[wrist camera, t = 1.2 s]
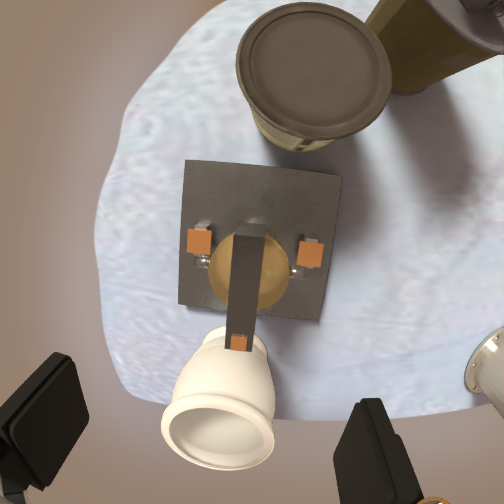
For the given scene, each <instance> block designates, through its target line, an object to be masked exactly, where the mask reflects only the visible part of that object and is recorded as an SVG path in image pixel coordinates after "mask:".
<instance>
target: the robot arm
mask: <svg viewBox="0 0 504 504" xmlns="http://www.w3.org/2000/svg"><path fill="white" fill-rule="evenodd" d="M465 382H466V385H467V387H468V388H469V389H470V390H471V391H472V392H474V393H483V392H484V394H485V395H486V396H487V397H488V399H489V400H490V401H491V403H492V404H493V405H494V407H495V408H496V409H497V411H498V412H499V413H500V415H501V416H502V418H503V419H504V327H502V328H500V329H498V330H496V331H494V332H493V333H491V334H490V335H489V336H488V337H487V338H486V339H484V341H483V342H482V343H481V344H480V345H479V346H478V348H477V349H476V350H475V352H474V354H473V355H472V357H471V359H470V361H469V363H468V366H467V368H466V373H465ZM88 422H89V413H88V410H87V406H86V403H85V400H84V397H83V393H82V389H81V385H80V382H79V378H78V374H77V370H76V366H75V363H74V362H73V361H72V359H71V357H69V356H67V355H64V354H61V353H58V352H54V353H53V354H52V355H51V356H50V357H49V358H48V359H47V360H46V361H45V362H44V363H43V364H42V365H41V366H40V367H39V368H38V369H37V370H36V371H35V372H34V373H33V374H32V375H31V376H30V377H29V378H28V379H27V380H26V381H25V382H24V383H23V384H22V385H21V386H20V387H19V388H18V389H17V390H16V391H15V392H14V393H13V394H12V395H11V396H10V398H9V399H8V400H7V401H6V402H5V403H4V404H3V405H2V406H1V407H0V504H31V503H30V499H29V495H28V490H27V488H28V486H29V485H32V486H33V487H35V488H37V489H39V490H41V491H43V490H44V488H45V487H46V486H49V485H50V484H51V483H52V481H53V480H54V478H55V476H56V475H57V473H58V471H59V469H60V468H61V466H62V464H63V463H64V461H65V460H66V458H67V456H68V455H69V453H70V451H71V450H72V448H73V446H74V445H75V443H76V442H77V440H78V438H79V437H80V435H81V434H82V432H83V430H84V429H85V427H86V425H87V424H88ZM333 462H334V468H335V473H336V480H337V485H338V492H339V497H340V504H450V503H449V502H447V501H446V500H444V499H442V498H439V497H428V498H425V499H424V496H423V493H422V491H421V488H420V485H419V483H418V480H417V477H416V475H415V472H414V469H413V467H412V464H411V462H410V459H409V457H408V454H407V451H406V449H405V446H404V444H403V442H402V439H401V437H400V436H399V435H398V434H395V432H394V430H393V428H392V425H391V422H390V420H389V417H388V415H387V412H386V410H385V408H384V405H383V403H382V401H381V399H380V398H363V399H362V400H361V401H360V403H356V404H355V406H354V408H353V411H352V413H351V415H350V418H349V420H348V423H347V425H346V427H345V430H344V432H343V434H342V437H341V439H340V441H339V443H338V445H337V447H336V450H335V452H334V456H333Z"/></svg>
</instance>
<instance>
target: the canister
mask: <svg viewBox="0 0 504 504" xmlns="http://www.w3.org/2000/svg"><path fill="white" fill-rule="evenodd" d="M364 24H366V25H367V26H368V27H369V28H370V29H371V30H372V31H373V32H374V33H375V35H376V36H377V37H378V38H379V40H380V42H381V43H382V45H383V47H384V49H385V51H386V53H387V56H388V58H389V62H390V65H391V71H392V87H391V92H392V93H395V94H399V95H413V94H416V93H419V92H421V91H423V90H424V89H425V88H426V87H427V86H429V85H431V84H433V83H436V82H438V81H440V80H442V79H444V78H446V77H448V76H451V75H453V74H455V73H457V72H459V71H462V70H464V69H466V68H468V67H471V66H473V65H475V64H478V63H480V62H482V61H485V60H487V59H489V58H492V57H494V56H497V55H504V0H380V1H379V2H378V4H377V5H376V7H375V8H374V10H373V11H372V13H371V14H370V16H369V17H368V19H367V20H366V22H365V23H364Z"/></svg>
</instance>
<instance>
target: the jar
mask: <svg viewBox="0 0 504 504" xmlns="http://www.w3.org/2000/svg"><path fill="white" fill-rule="evenodd" d="M225 334H226V326H225V327H221V328H218V329H215V330H213V331H212V332H210V333H209V334H208V335H207V336H206V338H205V339H204V341H203V343H202V346H201V347H200V348H199V349H198V350H197V351H196V352H195V354H194V355H193V357H192V358H191V359H190V360H189V362H188V363H187V364H186V365H185V367H184V368H183V370H182V372H181V373H180V375H179V377H178V379H177V382H176V384H175V387H174V391H173V395H172V400H171V404H170V405H169V406H168V407H167V408H166V410H165V411H164V413H163V416H162V420H161V431H162V434H163V437H164V438H165V440H166V442H167V443H168V445H169V446H170V447H171V448H172V449H173V450H174V451H175V452H177V453H178V454H179V455H180V456H182V457H183V458H185V459H187V460H189V461H191V462H193V463H195V464H198V465H200V466H203V467H207V468H211V469H217V470H241V469H246V468H250V467H253V466H256V465H258V464H260V463H262V462H263V461H264V460H266V459H267V458H268V457H269V456H270V454H271V453H272V451H273V448H274V443H275V441H274V438H275V437H274V431H273V428H272V423H273V418H274V412H275V391H274V385H273V381H272V377H271V373H270V369H269V366H268V363H267V352H266V348H265V346H264V344H263V342H262V341H261V340H260V338H259V337H258V336H256V335H255V334H254V339H253V347H252V352H243V351H235V350H230V349H224V348H225Z"/></svg>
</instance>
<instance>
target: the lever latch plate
mask: <svg viewBox="0 0 504 504" xmlns="http://www.w3.org/2000/svg"><path fill="white" fill-rule="evenodd" d="M341 182H342V176H338V175H332V174H325V173H318V172H311V171H304V170H296V169H288V168H279V167H270V166H261V165H251V164H240V163H229V162H216V161H202V160H185V169H184V182H183V195H182V211H181V229H180V251H179V285H178V304H182V305H188V306H195V307H202V308H209V309H217V310H224V311H227V308H228V305H227V304H225V303H224V302H223V301H221V300H220V299H219V298H218V296H217V295H216V294H215V292H214V291H213V289H212V287H211V285H210V281H209V276H208V269H207V268H198V267H194V257H195V255H204V256H212V255H213V253H214V251H215V250H216V248H217V247H218V245H219V244H220V243H221V241H222V240H223V239H224V238H225V237H226V236H227V235H229V234H230V233H232V232H234V231H236V230H237V228H238V226H239V224H240V223H241V222H248V223H257V224H266V225H267V226H266V232H269V233H270V234H272V235H273V236H275V237H276V238H277V239H278V240H279V241H280V243H281V244H282V245H283V247H284V249H285V251H286V254H287V258H288V264H289V265H291V266H300V267H307V274H306V279H305V280H302V279H293V278H289V282H288V286H287V288H286V290H285V292H284V294H283V295H282V297H281V298H280V299H279V300H278V301H277V302H275V303H274V304H273V305H271V306H269V307H267V308H265V309H262V310H258V311H257V315H266V316H275V317H285V318H295V319H306V320H317V321H319V316H320V311H321V306H322V301H323V296H324V291H325V285H326V280H327V274H328V269H329V263H330V257H331V251H332V245H333V239H334V233H335V226H336V219H337V212H338V205H339V198H340V190H341Z"/></svg>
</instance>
